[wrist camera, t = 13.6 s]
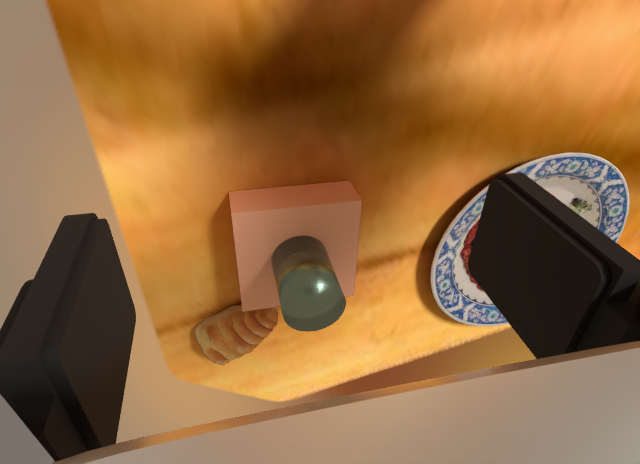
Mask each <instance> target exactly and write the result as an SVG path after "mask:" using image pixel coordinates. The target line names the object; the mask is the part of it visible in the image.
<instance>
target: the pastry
mask: <svg viewBox="0 0 640 464" xmlns="http://www.w3.org/2000/svg"><path fill="white" fill-rule="evenodd" d="M277 320H278V309H277V308H276V307H272V308H265V309H258V310H251V311H244V312H242V304H241V305H233V306H230V307H229V308H228V309H225V310H223V311H221V312H219V313H217V314H214V315H212V316H210V317H209V318H207V319H205V320H204V321H203V322H201V323H200V324H199V325H198V326H197V327H196V328H195V335H196V338H197V341H198V343H199V344H200V345H201V347H202V350H203V352H204V354H205V355H206V356H207V357H208V358H209V359H210V360H211V361H212V362H213V363H218V364H220V365H225V364H226V363H229V362H230V361H231V360H233V359H236V358H239V357H241V356H243V355H244V354H247V353H250V352H251V351H253V350H254V348H255V347H256V346H258V345H259V344H260V343H261V342H262V341H263V339H264V338H266V337H267V335H268V334H269V333H270V332H271V331H272V330H273V328H274V327H275V326H276V324H277Z"/></svg>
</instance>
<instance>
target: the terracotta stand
mask: <svg viewBox="0 0 640 464" xmlns="http://www.w3.org/2000/svg"><path fill="white" fill-rule="evenodd" d="M229 199H230V208H231V217H232V226H233V234H234V243H235V251H236V260H237V269H238V277H239V286H240V294H241V303H242V312H244V311H251V310H258V309H265V308H272V307H279V306H281V305H280V300H279V295H278V291H277V286H276V281H275V277H274V272H273V267H272V255H273V253H274V251H275V249H276V248H277V247H278V246H279V245H280V244H281V243H282V242H284V241H285V240H287V239H289V238H292V237H295V236H311V237H314V238H316V239H318V240H319V241H321V242H322V243H323V245H324V246H325V248H326V251H327V254H328V256H329V259H330V261H331V264H332V266H333V269H334V271H335V274H336V276H337V279H338V281H339V284H340V287H341V289H342V292H343V294H344V297H347V296H354V287H355V275H356V264H357V253H358V241H359V230H360V218H361V207H362V200H361V198H360V196H359V195H358V193H357V191H356V190H355V188H354V186H353V185H352V183H351V181H339V182H328V183H317V184H306V185H295V186H284V187H273V188H262V189H252V190H241V191H230V192H229Z"/></svg>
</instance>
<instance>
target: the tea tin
mask: <svg viewBox="0 0 640 464" xmlns="http://www.w3.org/2000/svg"><path fill="white" fill-rule="evenodd" d="M272 267H273V272H274V277H275V281H276V286H277V291H278V295H279V300H280V305H281V309H282V314H283V318H284V320H285V322H286V323H287V324H288V325H289V326H290V327H292V328H294V329H296V330H299V331H316V330H320V329H323V328H326V327H328V326H330V325H331V324H333V323H334V322H335V321H336V320H338V319H339V317H340V316H341V315H342V313H343V311H344V309H345V305H346V300H345V297H344V294H343V292H342V289H341V287H340V284H339V281H338V279H337V276H336V274H335V271H334V269H333V266H332V264H331V261H330V259H329V256H328V254H327V251H326V248H325V246H324V245H323V243H322V242H321V241H319V240H318V239H316V238H314V237H311V236H295V237H292V238H289V239H287V240H285V241H284V242H282V243H281V244H280V245H279V246H278V247H277V248H276V249H275V251H274V253H273V255H272Z"/></svg>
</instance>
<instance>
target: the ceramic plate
mask: <svg viewBox="0 0 640 464" xmlns="http://www.w3.org/2000/svg"><path fill="white" fill-rule="evenodd" d="M509 173H523V174H525V175H527V176H528V177H529V178H531V179H532V180H533V181H535V182H536V183H537V184H539V185H540V186H541V187H543V188H544V189H545V190H547V191H548V192H549V193H551V194H552V195H553V196H555V197H556V198H557V199H559V200H560V201H561V202H563V203H564V204H565V205H567V206H568V207H569V208H571V209H572V210H573V211H575V212H576V213H577V214H579V215H580V216H581V217H583V218H584V219H585V220H587V221H588V222H589V223H591V224H592V225H593V226H595V227H596V228H597V229H599V230H600V231H601V232H603V233H604V234H605V235H607V236H608V237H609V238H611V239H612V240H613V241H615V242H616V243H617V241H618V239H619V237H620V235H621V233H622V231H623V228H624V226H625V222H626V219H627V215H628V211H629V192H628V187H627V184H626V181H625V179H624V177H623V175H622V174H621V172H620V171H619V170H618V169H617V168H616V167H615V166H614V165H613V164H612V163H610V162H609V161H607V160H605V159H603V158H601V157H598V156H595V155H591V154H586V153H561V154H555V155H549V156H546V157H542V158H539V159H536V160H533V161H530V162H528V163H525V164H523V165H521V166H519V167H517V168H515V169H513V170H511V171H509V172H507V173H505V174H509ZM488 187H489V185H488V186H486V187H485V188H484V189H483V190H481V191H480V192H479V193H478V194H477V195H476V196H474V197H473V198H472V199H471V200H470V201H469V202H468V203H467V204H466V205H465V206H464V207H463V209H462V210H461V211H460V212H459V213H458V214H457V216H456V217H455V218H454V219H453V221H452V222H451V223H450V225H449V227H448V228H447V230H446V231H445V233H444V235H443V236H442V238H441V240H440V242H439V244H438V247H437V249H436V252H435V255H434V258H433V262H432V267H431V276H430V277H431V288H432V292H433V296H434V298H435V300H436V302H437V304H438V306H439V307H440V308H441V310H442V311H443V312H444V313H445V314H447V315H448V316H449V317H451V318H452V319H454V320H456V321H458V322H461V323H464V324H468V325H473V326H498V325H504V324H509V323H508V321H507V320H506V319H505V318H504V316H503V315H502V314H501V312H500V311H499V310H498V309H497V307H496V306H495V305H494V304H493V302H492V301H491V300H490V298H489V297H488V296H487V295H486V293H485V292H484V291H483V290H482V288H481V287H480V286H479V285H478V283H477V282H476V281H475V279H474V278H473V277H472V276H471V274H470V272H469V270H468V259H469V256H470V252H471V248H472V245H473V241H474V238H475V234H476V230H477V227H478V223H479V219H480V216H481V212H482V209H483V205H484V201H485V198H486V194H487V190H488Z"/></svg>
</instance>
